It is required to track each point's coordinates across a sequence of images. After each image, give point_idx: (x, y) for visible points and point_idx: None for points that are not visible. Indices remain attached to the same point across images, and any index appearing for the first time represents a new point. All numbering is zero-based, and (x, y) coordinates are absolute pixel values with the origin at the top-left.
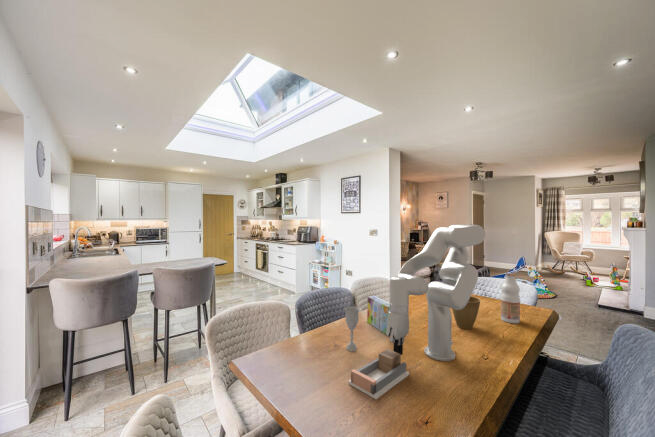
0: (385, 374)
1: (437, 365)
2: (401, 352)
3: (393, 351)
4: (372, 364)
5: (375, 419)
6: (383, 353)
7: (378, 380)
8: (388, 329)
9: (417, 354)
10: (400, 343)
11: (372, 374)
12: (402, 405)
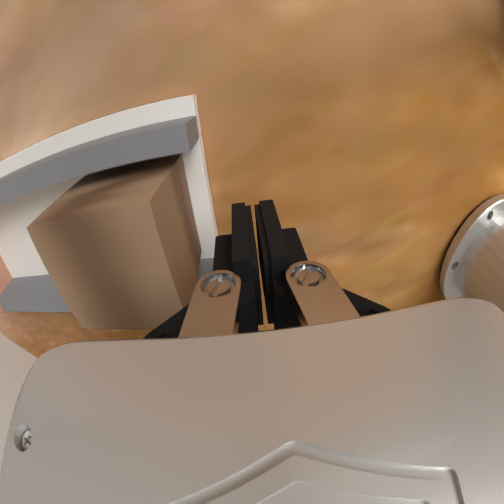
0: (45, 301)
1: (401, 294)
2: (261, 275)
3: (165, 274)
4: (23, 193)
5: (8, 323)
6: (60, 247)
7: (12, 305)
8: (29, 489)
9: (453, 187)
10: (277, 324)
11: (38, 196)
12: (77, 341)
